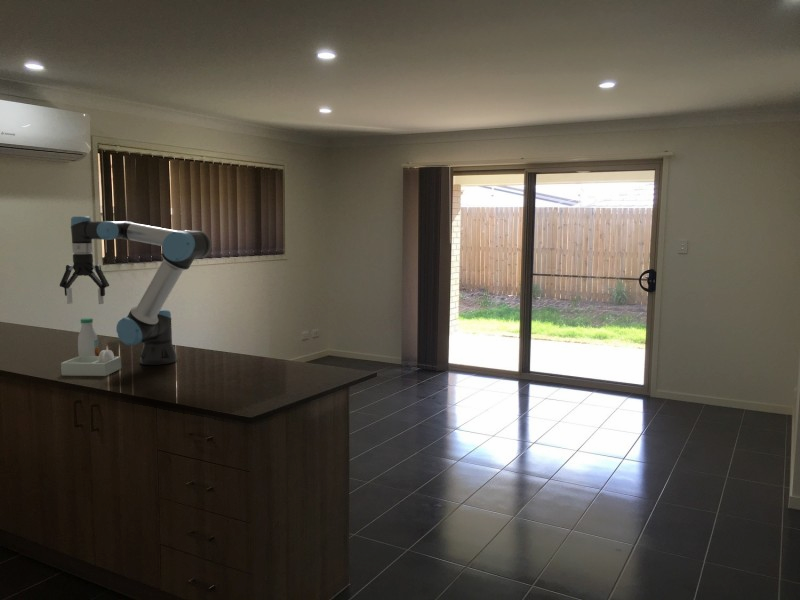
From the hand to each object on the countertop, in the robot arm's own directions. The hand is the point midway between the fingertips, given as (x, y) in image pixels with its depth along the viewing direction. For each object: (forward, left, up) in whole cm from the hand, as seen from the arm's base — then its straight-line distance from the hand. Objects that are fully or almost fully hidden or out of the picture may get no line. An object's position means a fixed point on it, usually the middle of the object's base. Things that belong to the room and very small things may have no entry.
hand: (85, 303), depth 275 cm
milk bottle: (0, 0, -27) cm, 27 cm away
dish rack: (+13, +8, -26) cm, 30 cm away
